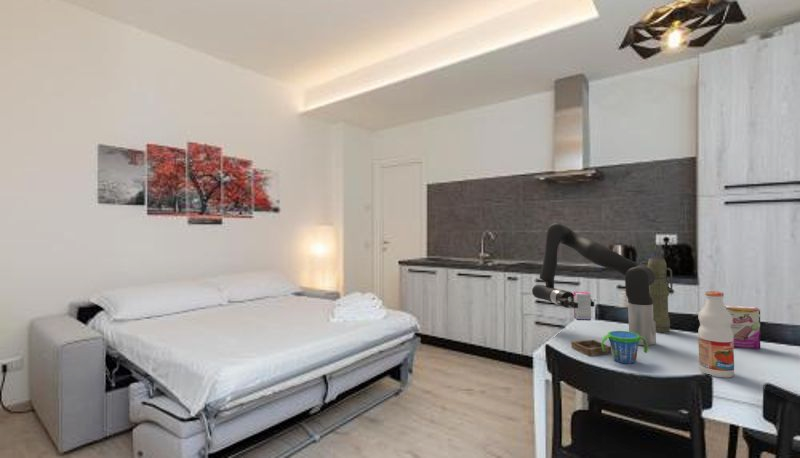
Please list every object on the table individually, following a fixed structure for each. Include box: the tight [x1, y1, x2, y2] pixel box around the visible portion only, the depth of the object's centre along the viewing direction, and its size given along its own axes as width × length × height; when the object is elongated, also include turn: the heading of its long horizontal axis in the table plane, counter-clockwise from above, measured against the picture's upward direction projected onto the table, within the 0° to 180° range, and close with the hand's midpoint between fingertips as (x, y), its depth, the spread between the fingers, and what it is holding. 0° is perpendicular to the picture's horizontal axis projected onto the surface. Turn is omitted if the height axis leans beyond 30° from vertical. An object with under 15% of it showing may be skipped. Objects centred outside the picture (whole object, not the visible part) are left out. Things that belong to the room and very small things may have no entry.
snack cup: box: [600, 330, 649, 364], centre depth 147 cm, size 16×10×10 cm
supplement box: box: [573, 291, 592, 322], centre depth 168 cm, size 6×6×12 cm
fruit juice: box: [697, 290, 735, 379], centre depth 133 cm, size 9×9×28 cm
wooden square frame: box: [570, 339, 612, 357], centre depth 160 cm, size 11×11×2 cm
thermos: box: [647, 257, 673, 334], centre depth 184 cm, size 9×12×35 cm
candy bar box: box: [724, 304, 761, 350], centre depth 158 cm, size 11×5×16 cm, turn 65°
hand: (585, 304), depth 166 cm, fingers closed on supplement box, 7 cm apart
